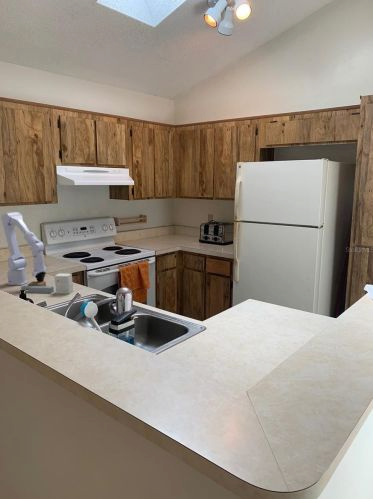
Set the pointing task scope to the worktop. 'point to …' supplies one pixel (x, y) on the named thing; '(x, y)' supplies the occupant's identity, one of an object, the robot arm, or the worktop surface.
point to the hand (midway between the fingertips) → (40, 284)
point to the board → (38, 289)
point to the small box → (63, 283)
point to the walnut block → (37, 283)
